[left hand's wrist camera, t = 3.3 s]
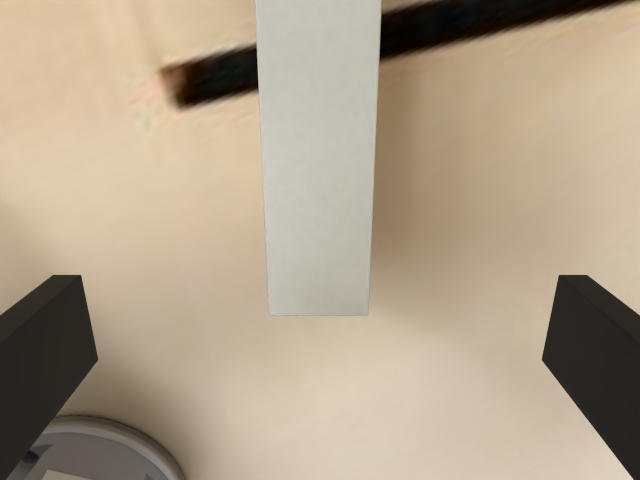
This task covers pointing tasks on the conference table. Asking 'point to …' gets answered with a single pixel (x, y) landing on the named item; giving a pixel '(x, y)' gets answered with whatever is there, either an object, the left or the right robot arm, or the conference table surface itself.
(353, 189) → the bar
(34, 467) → the left robot arm
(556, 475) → the conference table surface
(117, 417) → the conference table surface
